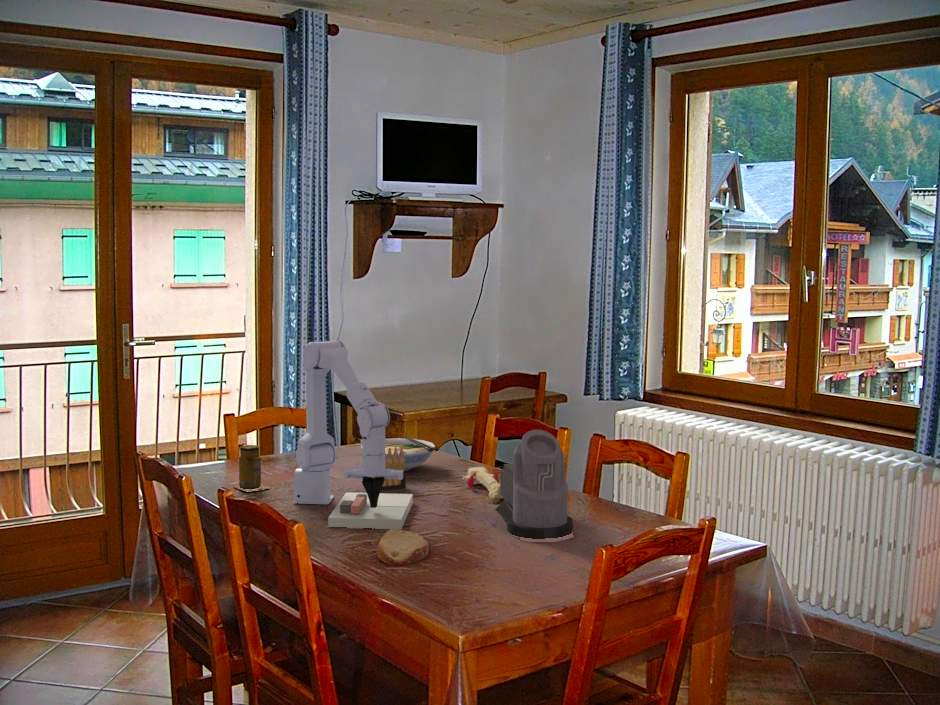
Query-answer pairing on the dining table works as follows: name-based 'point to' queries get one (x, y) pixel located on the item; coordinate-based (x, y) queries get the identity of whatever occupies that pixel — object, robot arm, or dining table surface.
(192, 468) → the dining table surface
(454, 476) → the dining table surface
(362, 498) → the bar
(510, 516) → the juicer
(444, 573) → the dining table surface
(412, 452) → the ramen bowl
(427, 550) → the bread slice
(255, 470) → the condiment
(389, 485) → the ammunition clip
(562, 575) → the dining table surface
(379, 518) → the pale square platform
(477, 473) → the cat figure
